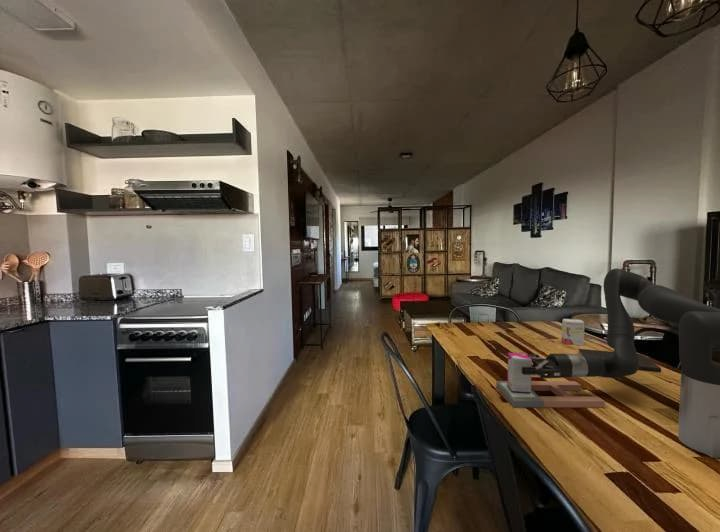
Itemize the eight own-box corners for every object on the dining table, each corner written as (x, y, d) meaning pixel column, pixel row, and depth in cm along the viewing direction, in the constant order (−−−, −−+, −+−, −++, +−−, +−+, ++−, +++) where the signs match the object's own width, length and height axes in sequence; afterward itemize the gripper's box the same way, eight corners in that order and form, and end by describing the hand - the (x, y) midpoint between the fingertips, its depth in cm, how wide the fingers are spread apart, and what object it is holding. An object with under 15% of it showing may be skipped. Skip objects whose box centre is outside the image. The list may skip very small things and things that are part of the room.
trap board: (604, 407, 95) (604, 400, 95) (514, 407, 96) (514, 400, 96) (575, 386, 109) (575, 380, 109) (496, 386, 110) (496, 380, 110)
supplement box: (531, 394, 100) (532, 359, 99) (511, 393, 101) (512, 358, 100) (525, 385, 105) (525, 352, 105) (506, 385, 106) (506, 352, 106)
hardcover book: (578, 353, 142) (578, 348, 142) (641, 359, 134) (641, 354, 134) (589, 366, 127) (589, 361, 127) (661, 373, 119) (661, 368, 119)
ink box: (563, 344, 154) (564, 320, 153) (561, 341, 158) (561, 318, 158) (584, 346, 151) (584, 322, 150) (581, 343, 155) (582, 319, 154)
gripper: (554, 347, 108) (506, 347, 109) (581, 362, 94) (526, 362, 95) (553, 368, 109) (506, 368, 110) (581, 386, 95) (526, 386, 95)
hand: (516, 365), depth 102 cm, fingers open, 8 cm apart
